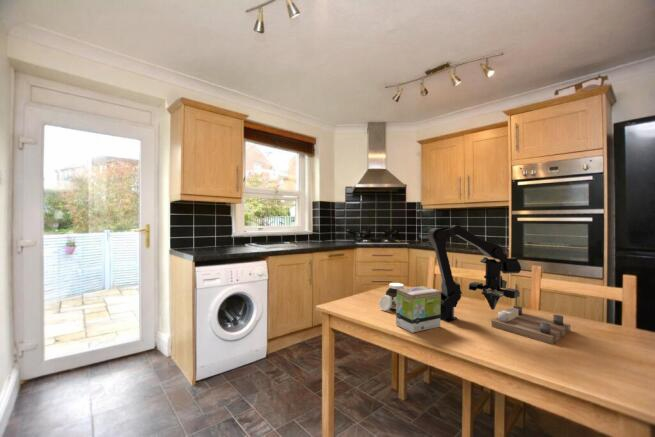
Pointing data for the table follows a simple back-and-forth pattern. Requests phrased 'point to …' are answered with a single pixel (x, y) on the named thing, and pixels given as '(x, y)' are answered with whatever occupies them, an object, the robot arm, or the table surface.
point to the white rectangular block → (507, 314)
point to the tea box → (418, 308)
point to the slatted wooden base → (535, 326)
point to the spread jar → (390, 297)
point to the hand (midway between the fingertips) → (492, 309)
